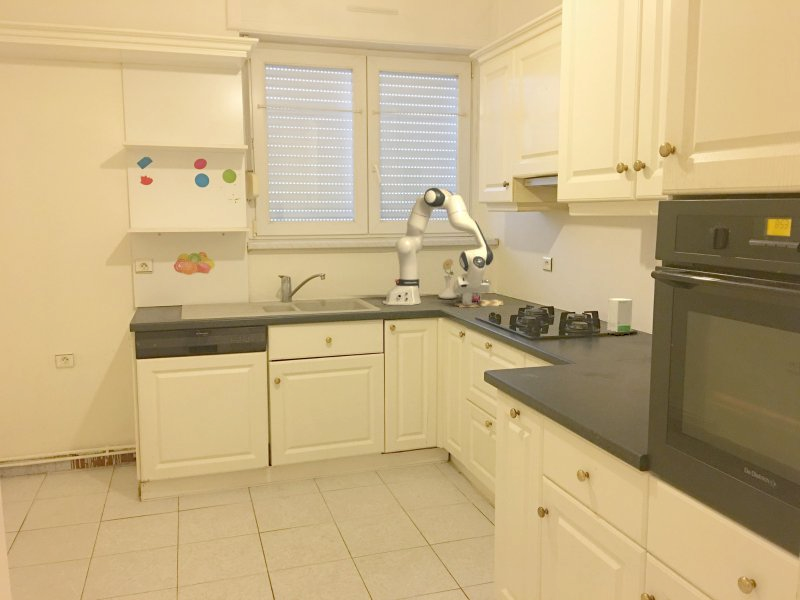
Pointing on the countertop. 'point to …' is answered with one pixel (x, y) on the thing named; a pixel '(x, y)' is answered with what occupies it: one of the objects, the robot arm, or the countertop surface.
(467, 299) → the grey block
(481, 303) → the birch box
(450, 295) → the flower in vase
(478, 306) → the cork mat
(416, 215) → the robot arm
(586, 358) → the countertop surface
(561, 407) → the countertop surface
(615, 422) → the countertop surface
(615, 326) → the skincare box
